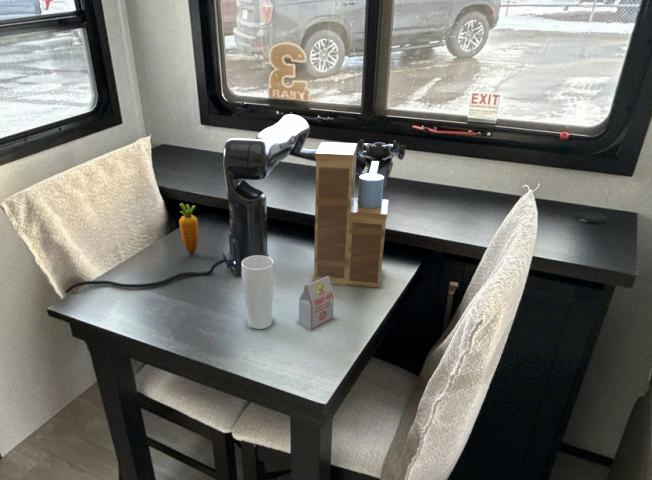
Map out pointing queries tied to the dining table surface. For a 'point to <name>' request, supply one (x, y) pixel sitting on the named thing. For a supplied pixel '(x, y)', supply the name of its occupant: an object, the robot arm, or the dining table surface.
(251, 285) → the drinking glass
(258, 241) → the robot arm
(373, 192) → the pale blue saucepan
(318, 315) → the milk carton
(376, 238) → the step stand
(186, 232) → the carrot
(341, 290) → the dining table surface
